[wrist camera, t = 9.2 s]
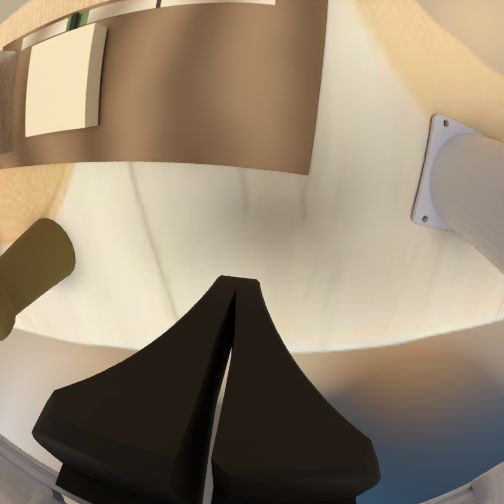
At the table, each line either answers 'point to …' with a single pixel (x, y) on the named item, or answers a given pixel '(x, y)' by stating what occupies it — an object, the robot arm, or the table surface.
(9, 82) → the gray stone tile
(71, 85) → the carriage
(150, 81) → the gauge base
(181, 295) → the table surface
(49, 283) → the cork
